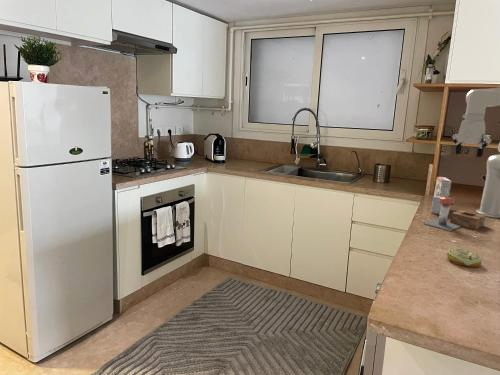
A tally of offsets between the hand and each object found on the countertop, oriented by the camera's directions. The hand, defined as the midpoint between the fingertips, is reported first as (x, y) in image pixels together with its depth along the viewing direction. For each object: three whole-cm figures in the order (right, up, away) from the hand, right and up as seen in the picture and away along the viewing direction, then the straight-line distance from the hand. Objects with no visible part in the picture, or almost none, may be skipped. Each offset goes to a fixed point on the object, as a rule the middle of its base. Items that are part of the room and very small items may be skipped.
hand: (468, 155), depth 176 cm
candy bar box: (+2, -26, +32) cm, 41 cm away
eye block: (+1, -32, +4) cm, 33 cm away
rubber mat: (-12, -32, -1) cm, 35 cm away
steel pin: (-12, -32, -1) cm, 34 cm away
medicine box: (-3, -29, +21) cm, 35 cm away
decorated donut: (-26, -41, -43) cm, 65 cm away
